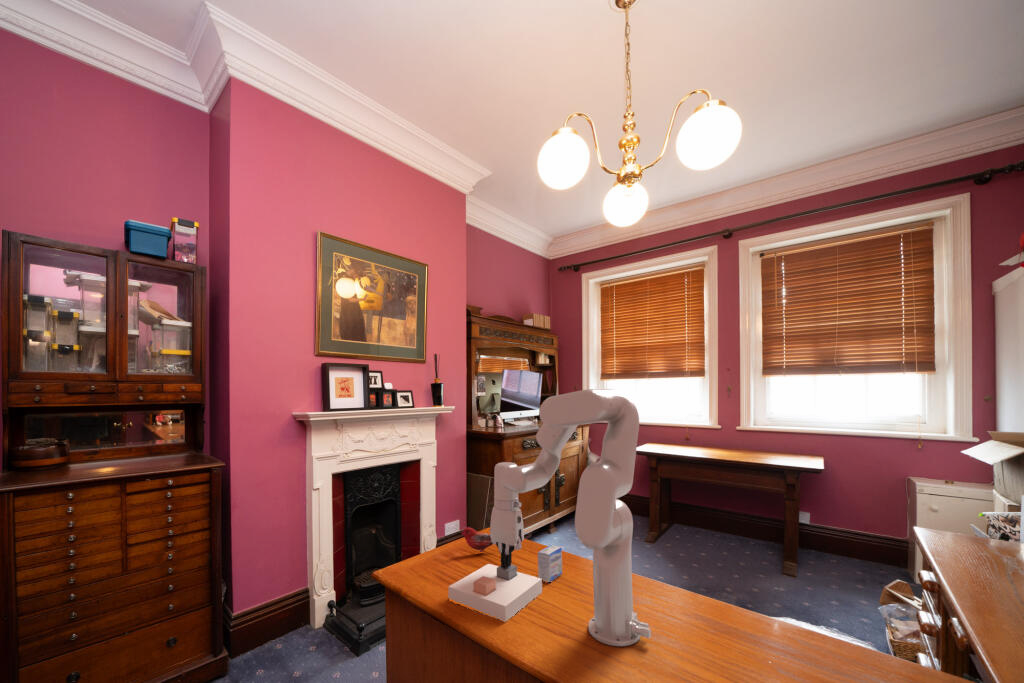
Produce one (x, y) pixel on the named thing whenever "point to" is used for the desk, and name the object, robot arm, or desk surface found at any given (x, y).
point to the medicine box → (550, 563)
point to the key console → (497, 593)
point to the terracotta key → (484, 585)
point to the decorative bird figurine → (477, 539)
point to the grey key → (507, 572)
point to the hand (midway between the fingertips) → (506, 566)
